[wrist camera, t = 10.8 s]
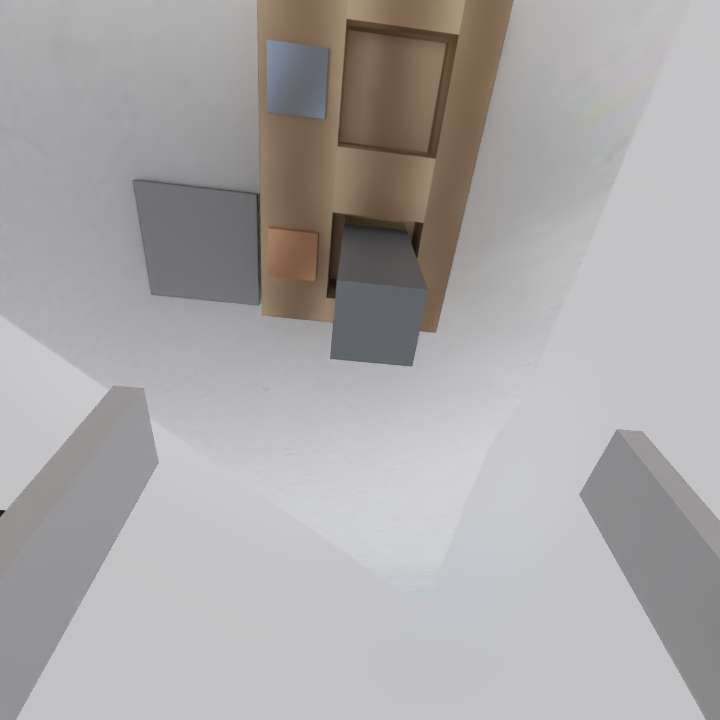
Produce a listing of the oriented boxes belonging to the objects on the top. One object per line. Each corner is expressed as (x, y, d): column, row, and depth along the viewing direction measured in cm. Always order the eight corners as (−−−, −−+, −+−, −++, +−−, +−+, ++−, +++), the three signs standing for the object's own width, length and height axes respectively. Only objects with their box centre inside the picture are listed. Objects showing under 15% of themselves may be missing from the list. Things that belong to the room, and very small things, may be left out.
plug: (340, 272, 30) (330, 358, 20) (345, 216, 28) (336, 280, 18) (394, 278, 30) (412, 366, 20) (403, 222, 28) (428, 289, 18)
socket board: (272, 292, 32) (260, 317, 28) (272, -22, 22) (254, -47, 18) (427, 308, 32) (436, 335, 28) (491, 10, 23) (517, -8, 19)
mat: (153, 292, 32) (151, 294, 31) (135, 179, 27) (132, 180, 27) (259, 303, 32) (258, 305, 32) (257, 194, 28) (256, 195, 27)
